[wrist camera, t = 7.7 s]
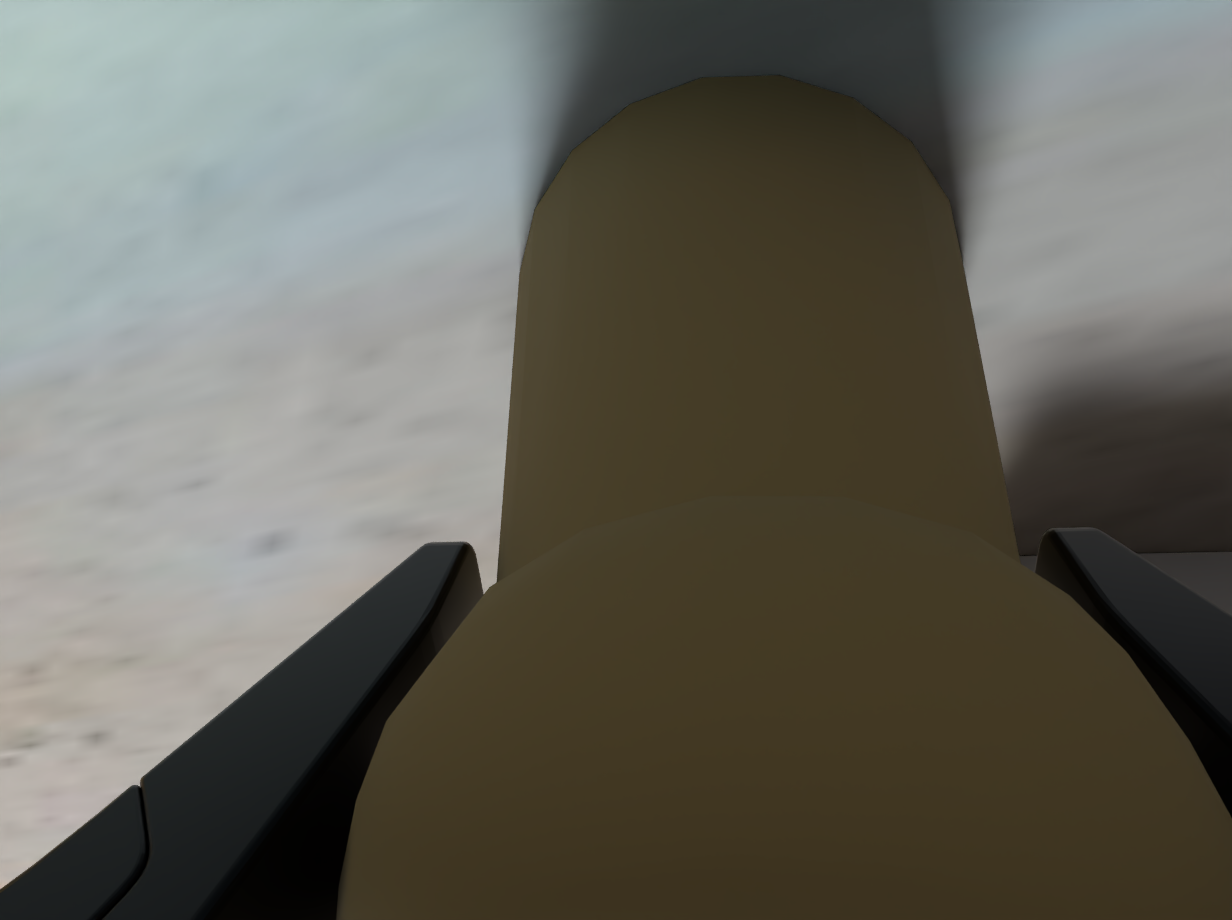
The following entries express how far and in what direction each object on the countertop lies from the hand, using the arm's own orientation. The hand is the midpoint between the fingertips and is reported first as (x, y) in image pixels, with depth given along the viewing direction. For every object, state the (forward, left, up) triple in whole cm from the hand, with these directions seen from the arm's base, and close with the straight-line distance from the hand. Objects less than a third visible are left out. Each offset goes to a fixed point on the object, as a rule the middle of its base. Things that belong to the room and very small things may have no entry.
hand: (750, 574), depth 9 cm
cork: (0, 0, -6) cm, 6 cm away
